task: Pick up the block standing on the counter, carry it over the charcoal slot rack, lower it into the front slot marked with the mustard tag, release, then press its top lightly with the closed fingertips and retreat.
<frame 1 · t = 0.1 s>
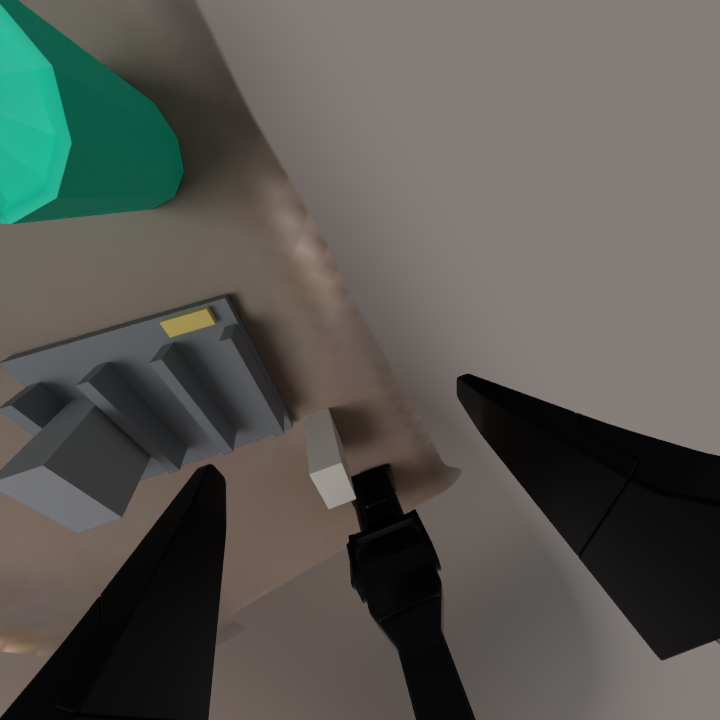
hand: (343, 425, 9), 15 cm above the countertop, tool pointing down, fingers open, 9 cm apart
rack: (180, 395, 23), on the countertop
candle: (122, 147, 15), on the countertop
block: (323, 430, 30), on the countertop
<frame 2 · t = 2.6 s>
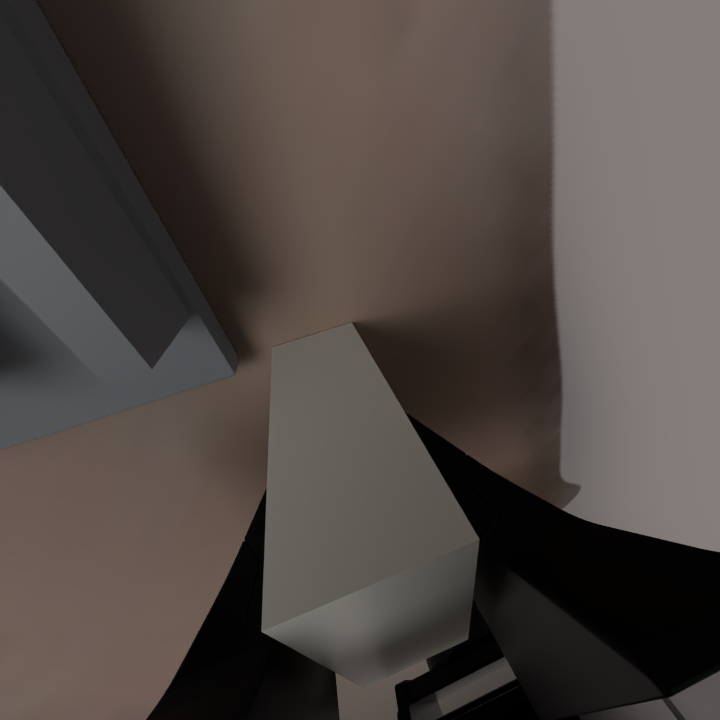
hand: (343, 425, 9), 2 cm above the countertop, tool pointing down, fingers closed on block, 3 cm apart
block: (335, 398, 11), on the countertop, touching gripper
when the fingers open (4 cm above the countertop, at t = 5.9 s): block drops 1 cm, resting on rack.
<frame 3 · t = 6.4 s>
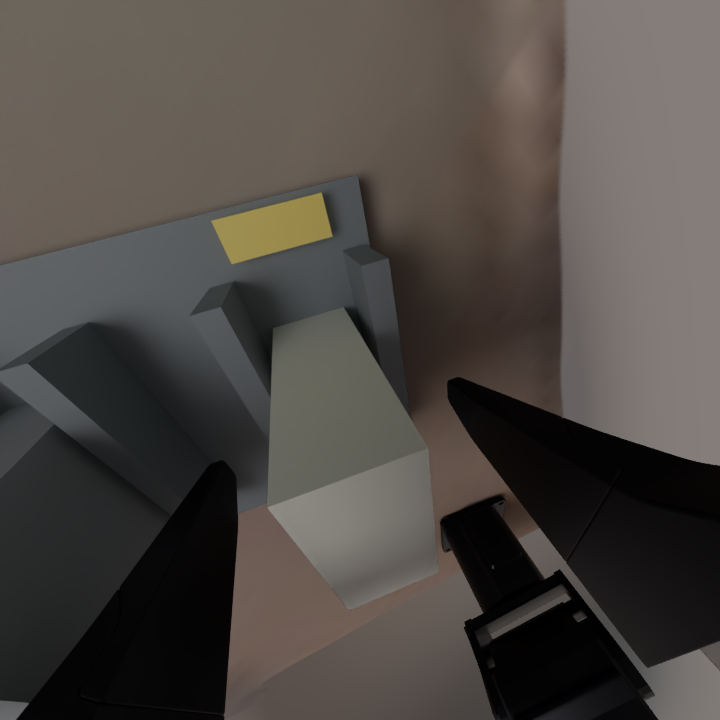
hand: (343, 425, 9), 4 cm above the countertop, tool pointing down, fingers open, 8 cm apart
rack: (229, 397, 12), on the countertop
block: (329, 377, 12), point 1 cm above the countertop, touching rack
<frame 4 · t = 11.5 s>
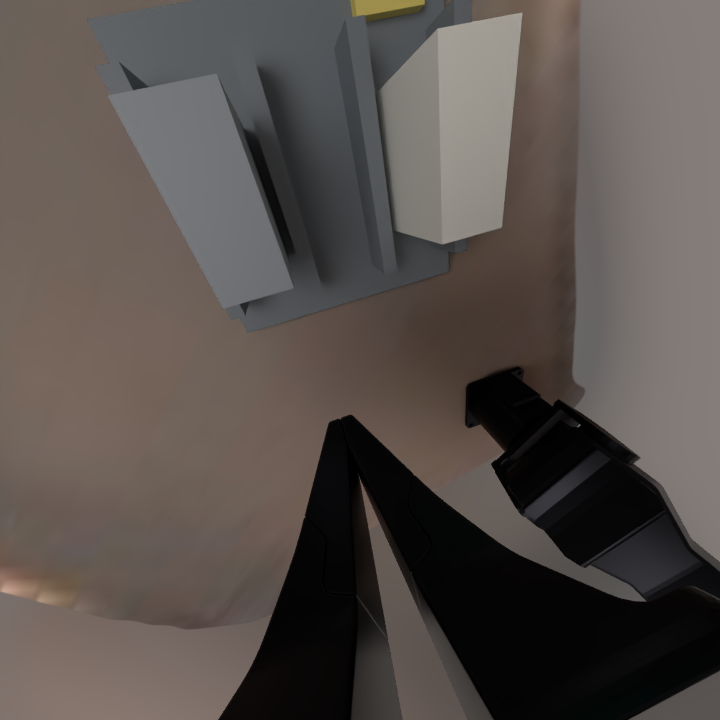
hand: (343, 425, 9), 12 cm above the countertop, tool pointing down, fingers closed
rack: (322, 185, 16), on the countertop
block: (401, 165, 15), point 1 cm above the countertop, touching rack
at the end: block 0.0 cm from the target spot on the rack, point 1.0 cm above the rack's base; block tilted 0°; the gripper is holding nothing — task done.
